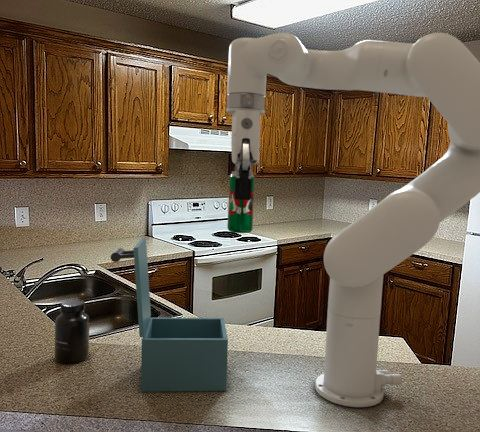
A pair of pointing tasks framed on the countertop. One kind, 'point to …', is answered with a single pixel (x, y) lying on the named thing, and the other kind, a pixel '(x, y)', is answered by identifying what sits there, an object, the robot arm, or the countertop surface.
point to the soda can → (240, 208)
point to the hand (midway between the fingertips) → (241, 197)
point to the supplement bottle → (72, 333)
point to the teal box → (184, 355)
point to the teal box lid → (139, 280)
